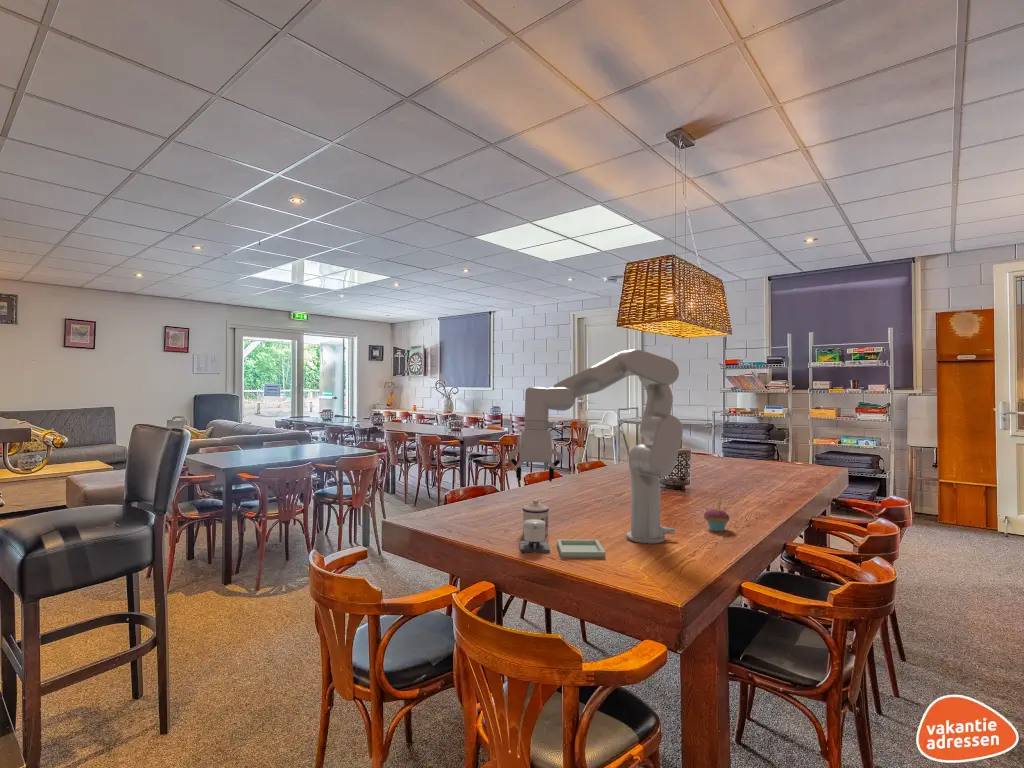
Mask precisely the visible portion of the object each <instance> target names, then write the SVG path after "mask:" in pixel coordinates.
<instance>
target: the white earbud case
mask: <svg viewBox="0 0 1024 768" xmlns="http://www.w3.org/2000/svg"><path fill="white" fill-rule="evenodd" d="M523 539H524V540H523V541H530V542H540V541H546V535H545V521H543V520H536V519H531V520H526V521H524V533H523Z"/></svg>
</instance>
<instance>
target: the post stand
mask: <svg viewBox="0 0 1024 768" xmlns="http://www.w3.org/2000/svg"><path fill="white" fill-rule="evenodd" d="M519 549H520V550H519V551H520V552H536V553H537V554H541V553H542V554H549V553H551V549H550V545H549V541H548V540H543V541H540V542H530V541H526V540H519ZM520 552H519V553H520ZM536 553H535V554H536Z"/></svg>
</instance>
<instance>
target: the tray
mask: <svg viewBox="0 0 1024 768" xmlns="http://www.w3.org/2000/svg"><path fill="white" fill-rule="evenodd" d="M556 547H557V549H558V552H559V555H560V558H561V559H606V551H605V549H604V548H603V546H602V544H601V543H600V541H599V540H598V539H571V538H570V539H564V538H563V539H562V538H561V539H558V538H557V539H556Z"/></svg>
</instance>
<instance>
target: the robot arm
mask: <svg viewBox="0 0 1024 768" xmlns="http://www.w3.org/2000/svg"><path fill="white" fill-rule="evenodd" d="M679 375H680V370H679V367H678V365H677V364H676V363H675V362H674V361H673V360H671V359H669V358H666V357H664V356H663V357H662V356H660V355H657V354H654V353H651V352H649V351H645V350H641V349H637V348H636V349H635V348H632V349H626V350H622V351H618V352H616V353H614V354H613V355H610V356H608V357H606V358H605V359H603V360H601V361H599V362H598V363H595V364H594V365H591V366H590V367H588V368H585V369H583V370H581V371H579V372H577V373H576V374H573V375H571V376H568V377H566V378H565V379H562V380H560V381H559V382H557V383H555V384H553V385H550V386H549V387H542V386H529V387H527V388H526V389H525V392H524V393H525V394H524V397H525V398H524V426H523V427H524V429H522V430H521V432H520V433H521V434H520V439H519V440H520V441H519V447H517V448H516V449H514V450H512V451H510V452H508V457H509V459H510V462H511V463H512V464H513V465H514V466H515V467H516V477H515V478H517V479H518V481H519V482H520V481H522V465H523V464H524V463H545V464H546V463H547V464H548V465H549V468H548V481H549V482H552V479H554V478H555V468H556V467H557V466H558V465H560V463H561V461H562V459H563V458H564V455H563V454H562V453H561V452H560V451H557V450H555V449H553V445H552V444H553V443H552V433H551V430H549V429H550V428H553V427H554V422H550V421H549V415H550V414H549V411H550V410H552V411H559V412H565V411H568V410H570V409H571V408H573V406H574V405H575V403H576V398H579V397H582V396H586V395H590V394H596V393H598V392H600V391H603V390H605V389H607V388H609V387H611V386H613V385H614V384H616V383H618V382H619V381H621V380H623V379H625V378H627V377H629V376H637V377H638V379H639V381H640V382H641V384H642V385H643V386H644V388H645V391H646V404H645V407H644V411H643V415H642V420H641V422H640V429H639V433H640V435H641V437H642V438H643V439H644V440H647V441H650V442H652V444H648V443H642V444H641V443H640V444H637V445H635V446H634V447H632V448H631V450H630V451H629V454H628V466H629V473H630V531H627V532H626V534H625V536H626V539H627V540H629V541H631V542H636V543H638V544H647V543H648V544H660V543H663V542H665V541H666V536H665V535H675V534H676V530H675V529H676V528H674V527H671V528H670V527H667V526H662V524H661V483H660V478H663V477H667V476H669V475H670V474H671V472H672V471H674V468H675V466H676V464H677V463H676V462H677V459H678V455H679V451H680V447H681V442H682V440H683V433H684V432H683V425H682V422H681V421H680V420H679V418H678V417H676V416H674V415H672V414H671V413H672V408H673V402H674V395H673V392H672V389H671V387H670V386H671V385H672V384H674V383H676V381H677V380H678V379H679ZM517 454H519V456H518V457H519V460H518V461H517V460H516V459H515V457H514V456H515V455H517ZM553 455H555V456H557V458H556V460H555V461H554V462H553V461H552V459H553V458H552V457H553Z"/></svg>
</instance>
